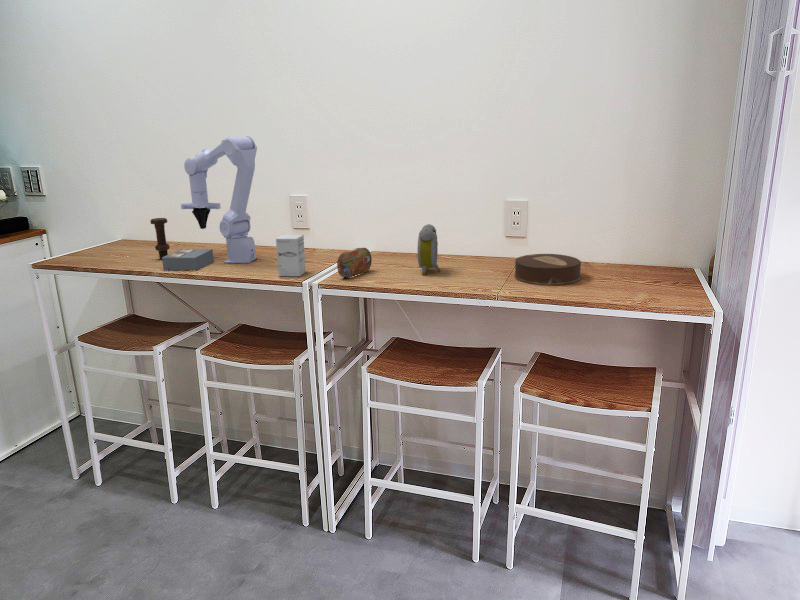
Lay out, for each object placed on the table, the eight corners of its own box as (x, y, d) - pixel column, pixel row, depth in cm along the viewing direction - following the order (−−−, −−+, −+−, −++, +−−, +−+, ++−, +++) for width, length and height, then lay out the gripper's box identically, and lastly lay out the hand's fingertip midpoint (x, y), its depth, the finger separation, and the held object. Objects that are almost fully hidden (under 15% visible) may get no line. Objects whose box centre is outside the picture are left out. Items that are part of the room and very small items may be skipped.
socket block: (213, 261, 230) (212, 249, 228) (196, 270, 216) (194, 257, 215) (182, 261, 231) (181, 248, 230) (163, 270, 218) (161, 257, 217)
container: (501, 274, 201) (502, 255, 199) (553, 267, 209) (554, 249, 207) (539, 290, 184) (540, 269, 182) (594, 282, 191) (596, 262, 189)
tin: (343, 280, 198) (342, 254, 196) (336, 279, 200) (334, 253, 198) (372, 270, 210) (371, 245, 208) (365, 269, 212) (364, 244, 210)
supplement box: (278, 276, 205) (274, 238, 202) (285, 271, 212) (282, 234, 209) (300, 277, 204) (297, 238, 201) (306, 271, 211) (303, 234, 208)
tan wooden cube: (195, 261, 229) (193, 249, 228) (189, 264, 225) (188, 252, 224) (184, 261, 230) (183, 249, 229) (179, 264, 226) (177, 252, 225)
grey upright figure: (422, 267, 212) (421, 222, 208) (442, 267, 211) (442, 222, 207) (417, 276, 201) (416, 229, 197) (439, 276, 200) (438, 229, 196)
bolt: (167, 260, 233) (162, 220, 229) (154, 260, 233) (148, 220, 229) (173, 257, 238) (168, 217, 234) (160, 257, 239) (154, 217, 234)
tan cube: (186, 266, 223) (184, 253, 221) (180, 268, 219) (178, 256, 217) (175, 266, 223) (173, 253, 222) (169, 268, 219) (168, 256, 218)
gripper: (175, 193, 230) (179, 230, 234) (213, 192, 227) (217, 230, 231) (184, 190, 236) (188, 226, 240) (221, 190, 234) (225, 226, 238)
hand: (203, 228), depth 236 cm, fingers closed
